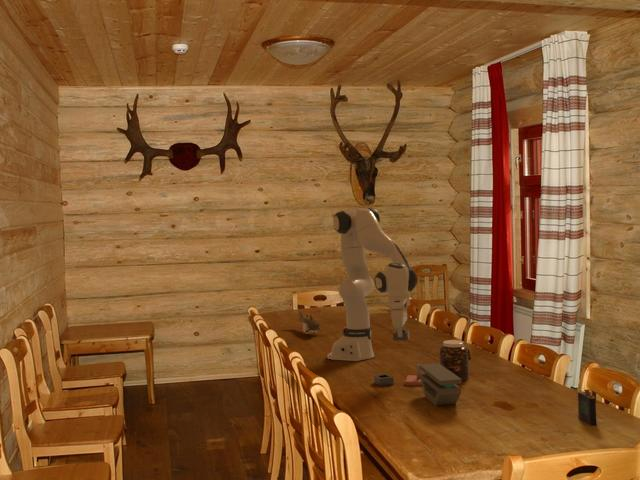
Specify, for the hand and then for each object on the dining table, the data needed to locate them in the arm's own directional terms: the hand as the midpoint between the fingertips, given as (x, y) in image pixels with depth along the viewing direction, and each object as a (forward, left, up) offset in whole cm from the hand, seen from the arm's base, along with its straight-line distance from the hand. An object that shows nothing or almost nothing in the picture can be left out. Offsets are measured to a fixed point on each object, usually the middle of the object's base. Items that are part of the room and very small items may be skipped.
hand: (401, 335), depth 296 cm
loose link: (-7, -8, -18) cm, 21 cm away
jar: (+21, +3, -19) cm, 28 cm away
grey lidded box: (+17, -30, -19) cm, 39 cm away
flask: (+66, -50, -19) cm, 85 cm away
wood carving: (-64, +97, -19) cm, 118 cm away
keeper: (+7, -5, -18) cm, 20 cm away
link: (0, 0, -2) cm, 2 cm away
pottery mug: (+22, +38, -19) cm, 48 cm away
